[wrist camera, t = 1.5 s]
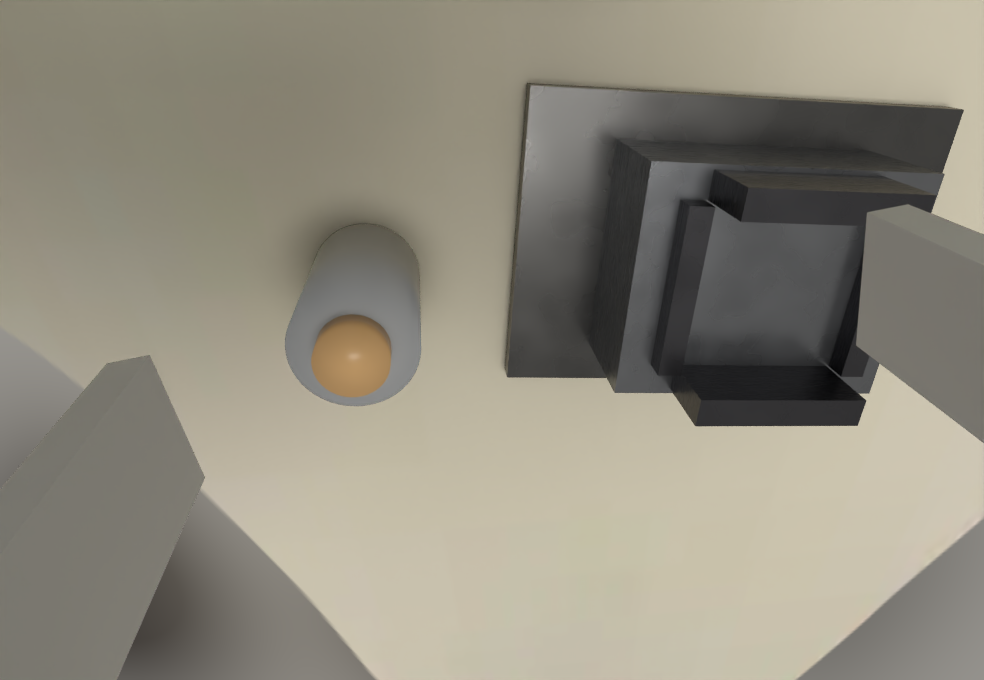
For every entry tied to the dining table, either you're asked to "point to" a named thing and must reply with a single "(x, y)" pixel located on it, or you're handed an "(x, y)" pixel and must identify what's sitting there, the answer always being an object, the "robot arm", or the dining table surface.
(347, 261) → the grey cylinder with ball
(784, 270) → the stepped square mount
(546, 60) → the dining table surface
